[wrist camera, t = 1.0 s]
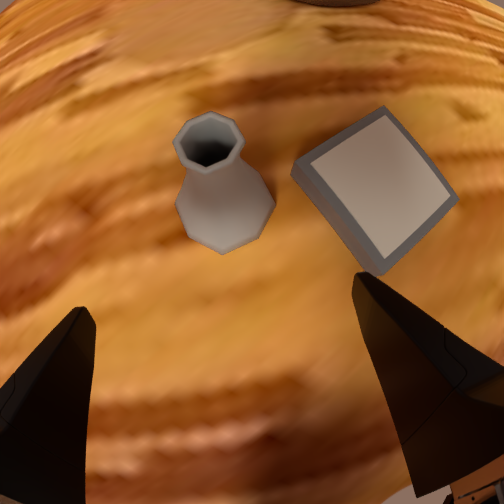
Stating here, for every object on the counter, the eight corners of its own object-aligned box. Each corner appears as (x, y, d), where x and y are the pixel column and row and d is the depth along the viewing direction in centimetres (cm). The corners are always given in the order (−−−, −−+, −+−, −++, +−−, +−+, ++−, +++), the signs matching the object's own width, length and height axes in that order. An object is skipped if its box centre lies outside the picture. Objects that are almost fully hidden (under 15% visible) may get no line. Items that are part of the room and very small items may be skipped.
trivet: (444, 207, 23) (460, 198, 21) (369, 277, 22) (383, 274, 20) (374, 120, 24) (384, 104, 22) (290, 175, 24) (294, 160, 21)
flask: (227, 145, 24) (216, 61, 14) (292, 206, 23) (320, 143, 13) (159, 205, 23) (106, 146, 13) (222, 273, 22) (200, 252, 13)
